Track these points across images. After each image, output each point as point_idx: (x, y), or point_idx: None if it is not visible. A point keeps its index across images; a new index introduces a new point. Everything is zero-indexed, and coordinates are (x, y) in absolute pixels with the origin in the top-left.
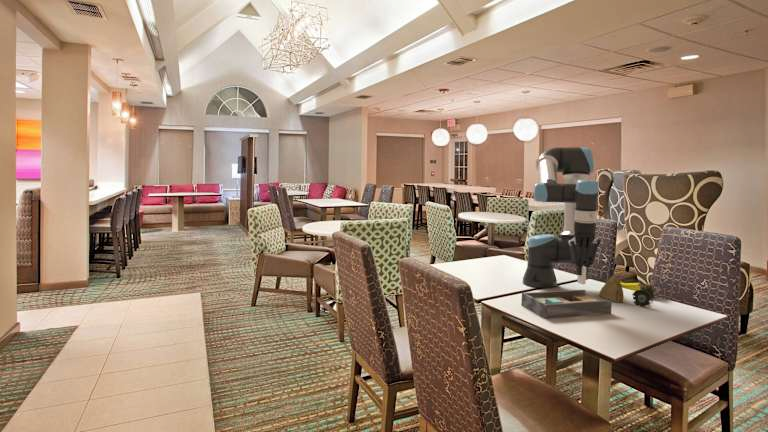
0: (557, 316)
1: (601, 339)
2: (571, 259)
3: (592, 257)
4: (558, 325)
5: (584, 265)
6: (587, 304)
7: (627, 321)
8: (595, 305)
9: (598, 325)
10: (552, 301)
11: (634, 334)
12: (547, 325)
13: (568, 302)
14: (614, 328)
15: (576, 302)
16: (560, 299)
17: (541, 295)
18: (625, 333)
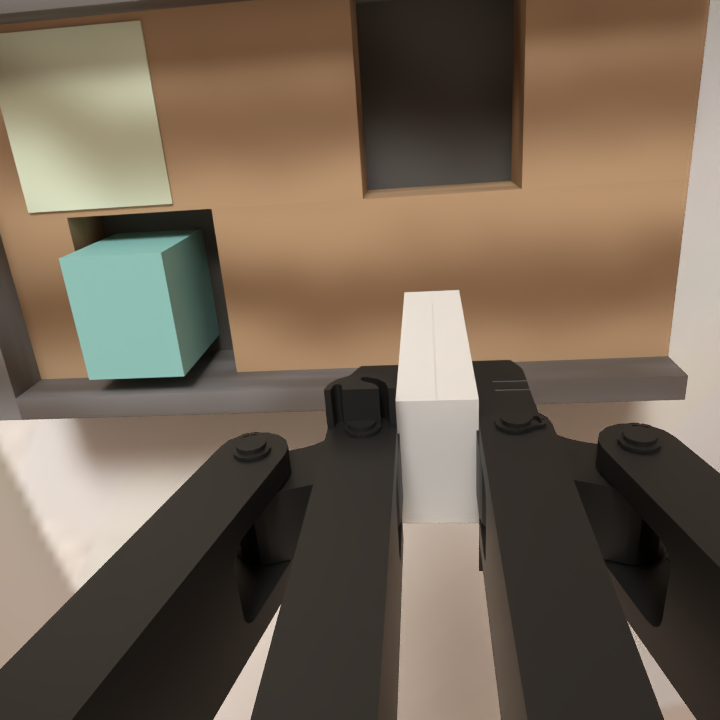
0: None
1: (248, 691)
2: (171, 496)
3: (677, 680)
4: (108, 498)
5: (479, 484)
6: None
7: None
8: None
9: None
10: (91, 356)
11: (475, 673)
12: (38, 488)
13: (331, 224)
14: (430, 590)
15: (307, 397)
16: (305, 111)
17: (116, 7)
18: (436, 655)
